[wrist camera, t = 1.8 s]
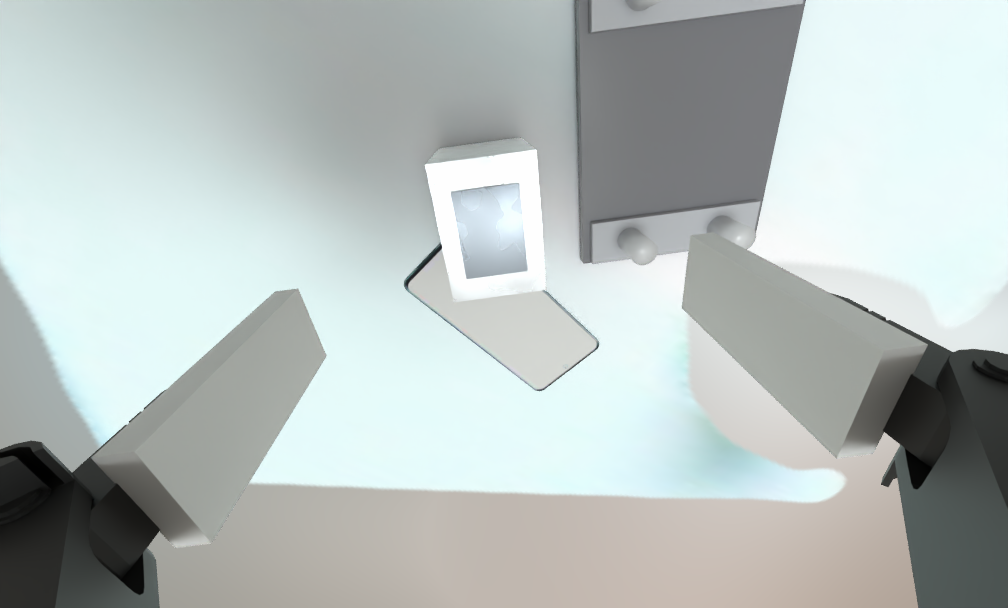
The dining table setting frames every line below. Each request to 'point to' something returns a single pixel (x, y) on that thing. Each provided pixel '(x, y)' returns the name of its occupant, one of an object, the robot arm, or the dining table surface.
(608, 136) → the grey knobbed plate
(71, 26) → the dining table surface
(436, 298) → the smartphone
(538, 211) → the block
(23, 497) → the robot arm
